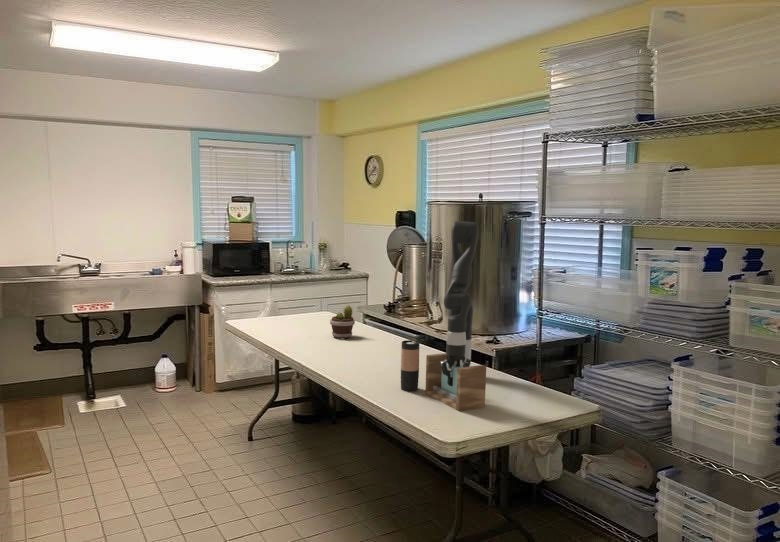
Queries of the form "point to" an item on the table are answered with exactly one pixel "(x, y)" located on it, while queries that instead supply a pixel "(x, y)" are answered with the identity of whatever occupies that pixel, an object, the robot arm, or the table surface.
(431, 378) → the slotted wooden stand
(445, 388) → the pale teal rectangular block
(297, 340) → the table surface
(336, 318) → the flowerpot
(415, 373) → the travel mug
